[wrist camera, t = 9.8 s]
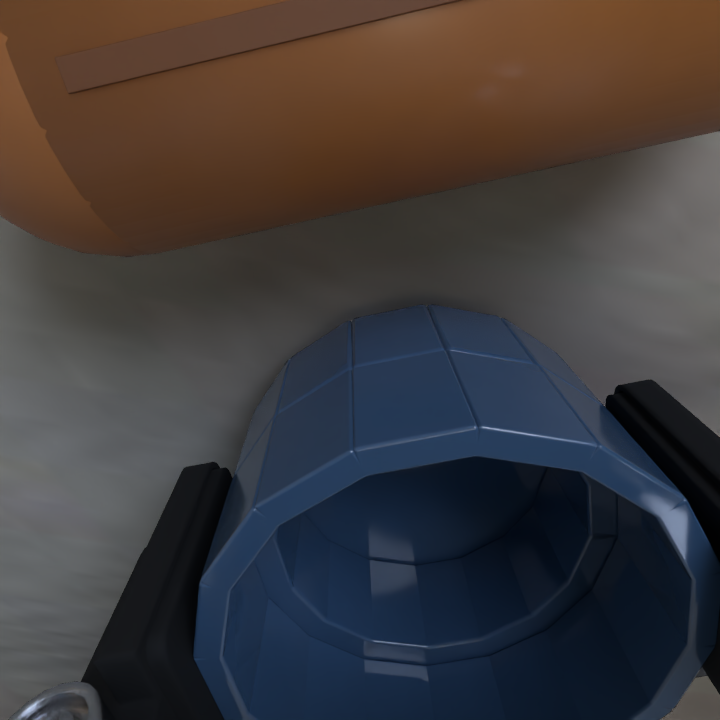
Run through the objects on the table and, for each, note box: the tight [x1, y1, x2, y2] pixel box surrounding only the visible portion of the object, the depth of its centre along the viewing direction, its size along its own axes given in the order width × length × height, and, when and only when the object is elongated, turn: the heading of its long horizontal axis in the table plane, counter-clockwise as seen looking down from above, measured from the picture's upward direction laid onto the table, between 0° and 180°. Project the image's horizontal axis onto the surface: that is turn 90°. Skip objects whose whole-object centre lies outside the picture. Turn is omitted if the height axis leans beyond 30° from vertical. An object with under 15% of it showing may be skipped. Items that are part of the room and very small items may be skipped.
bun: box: [0, 0, 720, 257], centre depth 6 cm, size 12×4×4 cm, turn 102°
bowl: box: [193, 305, 720, 720], centre depth 9 cm, size 7×7×5 cm
